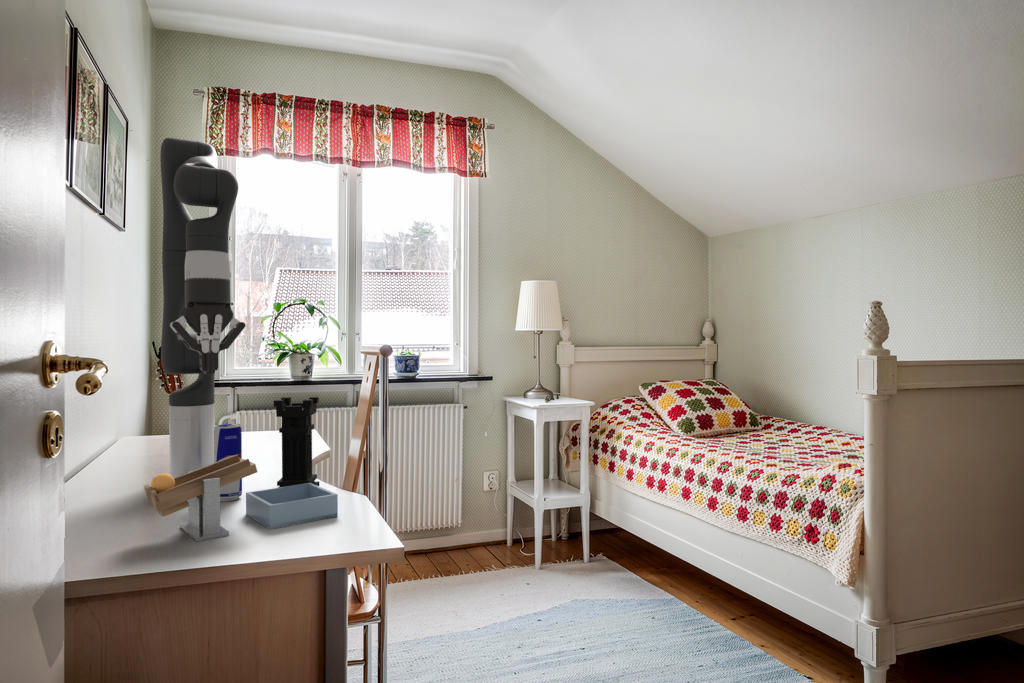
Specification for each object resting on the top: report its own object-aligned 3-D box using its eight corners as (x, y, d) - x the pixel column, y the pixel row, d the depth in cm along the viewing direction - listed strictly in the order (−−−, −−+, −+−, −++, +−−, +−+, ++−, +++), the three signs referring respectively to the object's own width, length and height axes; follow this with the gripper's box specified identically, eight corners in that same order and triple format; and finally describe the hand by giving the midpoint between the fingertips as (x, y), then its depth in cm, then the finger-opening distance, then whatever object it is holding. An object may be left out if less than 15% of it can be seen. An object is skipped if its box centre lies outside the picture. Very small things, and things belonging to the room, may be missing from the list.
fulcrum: (180, 527, 114) (179, 472, 114) (211, 522, 118) (210, 468, 117) (196, 541, 107) (195, 482, 107) (229, 535, 110) (228, 477, 110)
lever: (145, 505, 114) (137, 480, 113) (238, 468, 123) (231, 445, 123) (161, 519, 105) (152, 493, 104) (260, 478, 115) (253, 454, 114)
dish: (246, 514, 122) (245, 492, 122) (310, 503, 130) (309, 482, 130) (270, 529, 113) (270, 505, 113) (337, 516, 121) (337, 494, 121)
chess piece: (282, 493, 138) (281, 396, 138) (321, 492, 139) (321, 396, 139) (271, 503, 130) (270, 400, 130) (313, 502, 131) (312, 400, 131)
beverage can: (232, 502, 131) (231, 426, 131) (208, 501, 132) (208, 425, 132) (247, 496, 136) (246, 422, 136) (224, 495, 137) (224, 422, 137)
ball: (151, 495, 109) (146, 475, 108) (174, 488, 111) (169, 468, 110) (156, 499, 106) (151, 479, 105) (179, 491, 108) (174, 472, 108)
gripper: (239, 281, 128) (240, 372, 128) (162, 277, 120) (163, 374, 120) (252, 278, 122) (253, 373, 122) (172, 274, 114) (173, 376, 114)
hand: (208, 373), depth 121 cm, fingers closed
